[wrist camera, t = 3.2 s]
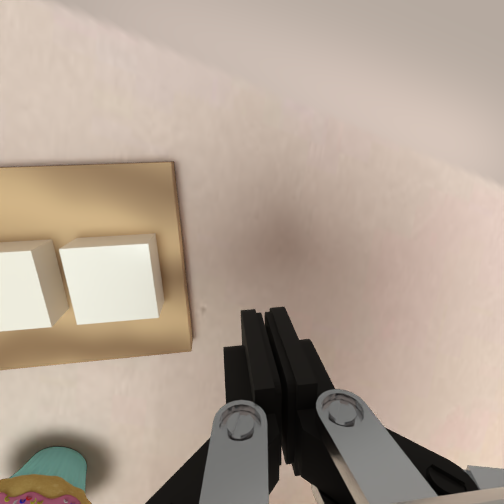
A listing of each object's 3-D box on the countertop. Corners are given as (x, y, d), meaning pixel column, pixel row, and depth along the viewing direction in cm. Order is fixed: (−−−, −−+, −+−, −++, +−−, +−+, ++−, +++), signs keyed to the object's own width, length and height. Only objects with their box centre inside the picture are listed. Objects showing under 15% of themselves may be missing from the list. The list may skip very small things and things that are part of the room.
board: (192, 339, 25) (191, 351, 23) (-19, 359, 23) (-36, 373, 22) (173, 161, 20) (170, 162, 19) (-90, 170, 19) (-116, 171, 17)
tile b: (69, 308, 21) (51, 327, 19) (-9, 314, 21) (-37, 334, 18) (51, 239, 20) (30, 250, 17) (-33, 244, 19) (-66, 256, 17)
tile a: (164, 300, 22) (158, 317, 20) (91, 306, 21) (77, 324, 19) (155, 233, 20) (148, 243, 18) (76, 237, 20) (58, 249, 17)
